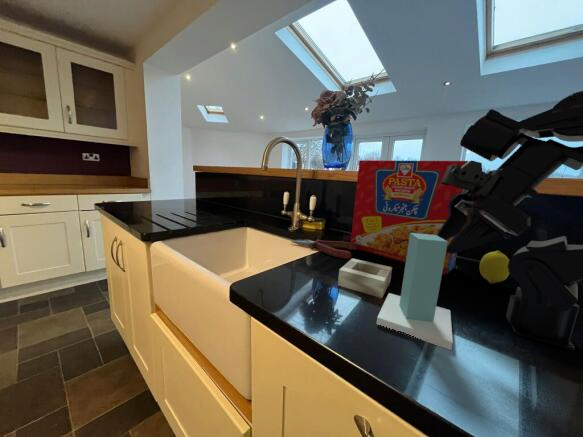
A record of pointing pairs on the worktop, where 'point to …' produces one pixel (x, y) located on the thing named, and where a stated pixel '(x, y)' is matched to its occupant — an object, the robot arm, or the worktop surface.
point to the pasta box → (401, 205)
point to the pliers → (329, 247)
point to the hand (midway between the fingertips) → (441, 245)
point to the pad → (417, 323)
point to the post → (422, 276)
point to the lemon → (494, 267)
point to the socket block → (365, 277)
